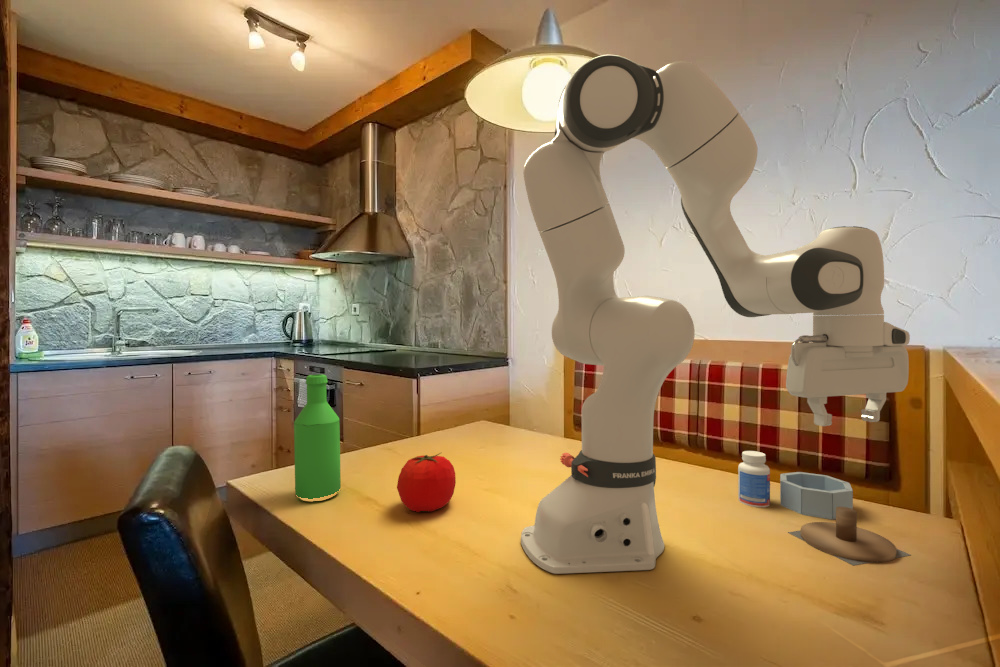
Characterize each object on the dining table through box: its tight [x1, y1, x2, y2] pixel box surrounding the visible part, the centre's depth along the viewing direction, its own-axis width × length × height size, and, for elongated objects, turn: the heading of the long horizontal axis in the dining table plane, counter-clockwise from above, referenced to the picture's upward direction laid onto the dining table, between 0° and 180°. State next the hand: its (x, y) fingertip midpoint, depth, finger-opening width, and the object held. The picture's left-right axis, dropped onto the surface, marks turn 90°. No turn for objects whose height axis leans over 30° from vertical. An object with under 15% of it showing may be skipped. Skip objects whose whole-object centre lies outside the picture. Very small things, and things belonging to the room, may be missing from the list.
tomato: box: [396, 452, 456, 513], centre depth 91 cm, size 11×13×10 cm
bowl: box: [779, 471, 854, 521], centre depth 88 cm, size 11×11×5 cm
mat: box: [787, 529, 912, 566], centre depth 73 cm, size 11×11×1 cm
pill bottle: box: [737, 450, 771, 508], centre depth 90 cm, size 6×5×10 cm
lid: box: [800, 507, 897, 564], centre depth 73 cm, size 12×12×5 cm
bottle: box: [293, 373, 342, 499], centre depth 97 cm, size 9×9×25 cm
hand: (847, 423), depth 73 cm, fingers open, 8 cm apart
